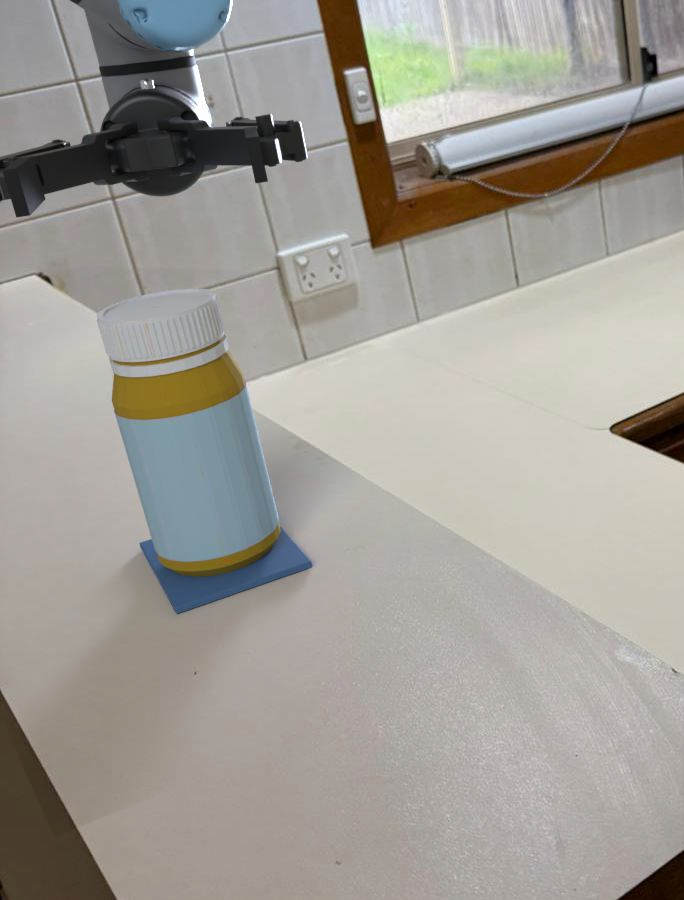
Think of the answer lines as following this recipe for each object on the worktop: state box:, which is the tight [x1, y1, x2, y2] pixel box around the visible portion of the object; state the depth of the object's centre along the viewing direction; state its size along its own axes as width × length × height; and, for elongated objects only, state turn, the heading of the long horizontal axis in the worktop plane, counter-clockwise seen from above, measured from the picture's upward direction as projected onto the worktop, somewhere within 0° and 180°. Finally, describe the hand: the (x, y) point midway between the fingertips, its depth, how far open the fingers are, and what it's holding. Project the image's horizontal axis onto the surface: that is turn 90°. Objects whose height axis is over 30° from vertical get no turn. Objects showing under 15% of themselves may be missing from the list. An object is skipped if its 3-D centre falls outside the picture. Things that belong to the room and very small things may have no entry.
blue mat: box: [139, 525, 313, 615], centre depth 67 cm, size 10×8×1 cm
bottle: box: [96, 287, 281, 577], centre depth 64 cm, size 7×7×15 cm
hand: (139, 176), depth 67 cm, fingers open, 13 cm apart
